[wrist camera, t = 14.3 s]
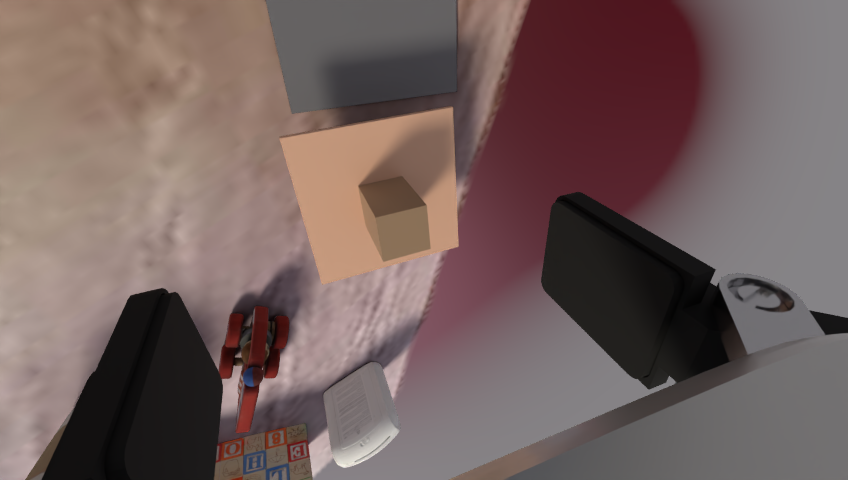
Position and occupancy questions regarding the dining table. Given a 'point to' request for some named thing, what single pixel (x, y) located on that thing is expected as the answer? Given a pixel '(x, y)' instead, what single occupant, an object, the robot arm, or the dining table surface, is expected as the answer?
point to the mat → (364, 50)
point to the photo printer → (360, 415)
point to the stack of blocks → (266, 456)
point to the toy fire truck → (252, 357)
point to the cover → (376, 190)
